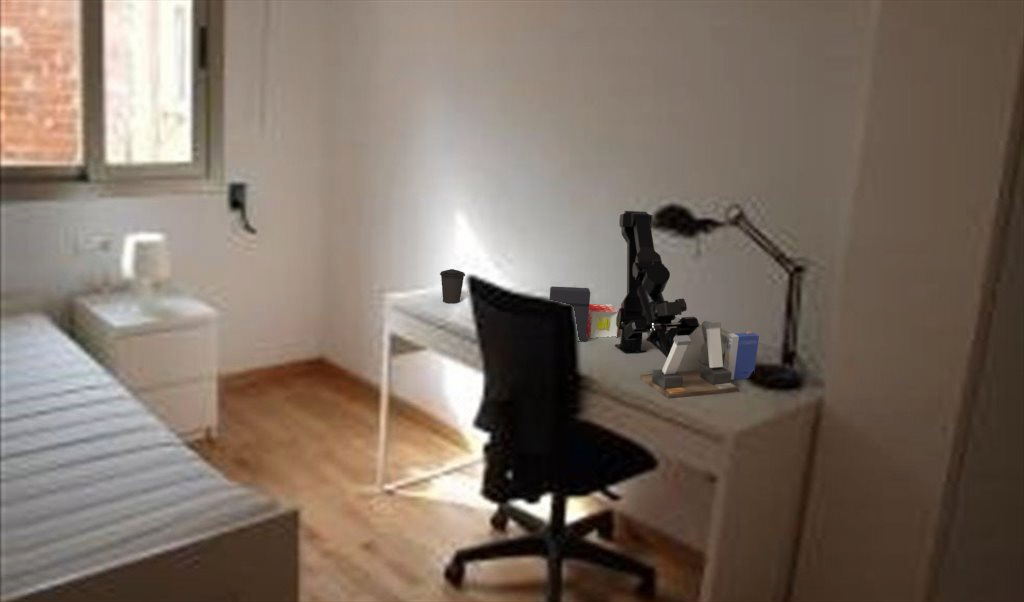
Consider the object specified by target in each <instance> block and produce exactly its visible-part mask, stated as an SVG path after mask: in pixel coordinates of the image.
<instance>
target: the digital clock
mask: <svg viewBox="0 0 1024 602" xmlns="http://www.w3.org/2000/svg"><path fill="white" fill-rule="evenodd" d="M704 323H713V322H712V321H710V320H709V321H708V320H703V321H702V322H701V330H702V335H703V341H704V343H703V344H702V345H701V347H700V352H699V353H700V354H699V361H700V362H701V363H702V364H704V365H705V366H708V365H709V355H708V343H707V332H706V328H705V327H704ZM731 333H734V332H733V331H731V330H729V329H726V328H725V327H722V326H721V327H720V337H721V349H722V360H723V368H724V360H725V351H726V343H727V335H728V334H731Z"/></svg>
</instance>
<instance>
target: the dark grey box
mask: <svg viewBox="0 0 1024 602" xmlns="http://www.w3.org/2000/svg"><path fill="white" fill-rule="evenodd" d="M548 299H549V300H553V301H558V302H562V303H566V304H570V305H572V306H573V307H574V311H575V317H576V324H577V331H578V337H579V340H580V341H579V342H584V343H585V342H587V337H588V335H587V325H588V313H589V304H591V303H590V301H591V291H590V289H589V288H588V287H576V286H575V287H574V286H573V287H572V286H554V285H552V286H550V288H549V298H548ZM549 300H548V301H549Z"/></svg>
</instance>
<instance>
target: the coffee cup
mask: <svg viewBox="0 0 1024 602" xmlns="http://www.w3.org/2000/svg"><path fill="white" fill-rule="evenodd" d="M439 275H440V279H441V280H440V281H441V292H442V293H441V295H442V302H444V303H445V304H449V305H450V304H453V305H454V304H455V305H456V304H460V302H461V297H462V292H463V291H462V290H463V285H464V277H465V276H466V273H465V272H464V271H461V270H458V269H454V268H450V269H445V270H441V271H440V272H439Z"/></svg>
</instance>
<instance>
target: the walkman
mask: <svg viewBox="0 0 1024 602" xmlns="http://www.w3.org/2000/svg"><path fill="white" fill-rule="evenodd" d="M759 337H760V335H758V334H757V333H755V332H752V331H746V332H737V333H735V332H733V333H731V334H728V335H727V343H726V351H725V360H724V368H725V369H727V370H728V371H730V372H732V374H731V380H748V379H747V378H749V376H750V375H751V373H752V372H753V371H754V372H755V369H756V361H757V353H758V345H759Z"/></svg>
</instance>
